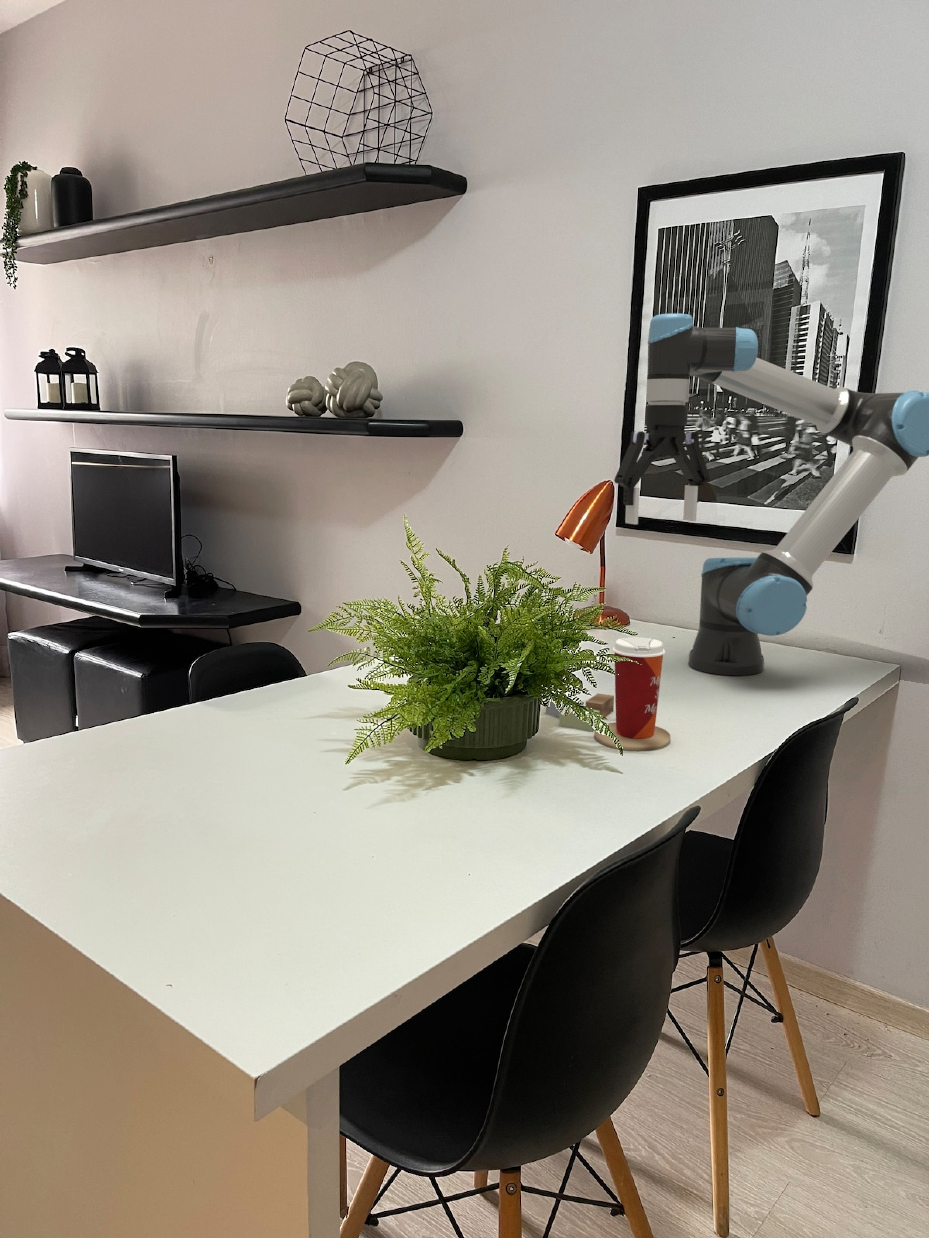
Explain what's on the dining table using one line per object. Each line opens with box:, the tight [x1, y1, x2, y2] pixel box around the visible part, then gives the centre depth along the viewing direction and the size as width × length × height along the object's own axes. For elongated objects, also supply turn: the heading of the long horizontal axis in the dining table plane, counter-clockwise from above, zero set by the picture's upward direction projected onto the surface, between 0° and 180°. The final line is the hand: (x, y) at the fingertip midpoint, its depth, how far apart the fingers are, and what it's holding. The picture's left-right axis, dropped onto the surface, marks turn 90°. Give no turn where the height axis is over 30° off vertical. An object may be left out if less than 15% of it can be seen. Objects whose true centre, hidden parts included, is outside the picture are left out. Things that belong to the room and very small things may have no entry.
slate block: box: [545, 700, 584, 719], centre depth 163 cm, size 6×3×3 cm, turn 40°
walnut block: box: [585, 692, 615, 718], centre depth 164 cm, size 6×3×3 cm, turn 152°
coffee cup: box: [612, 636, 666, 739], centre depth 150 cm, size 8×8×15 cm
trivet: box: [593, 721, 671, 752], centre depth 151 cm, size 12×12×1 cm
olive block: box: [558, 710, 600, 733], centre depth 157 cm, size 6×3×3 cm, turn 58°
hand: (661, 522), depth 174 cm, fingers open, 13 cm apart
